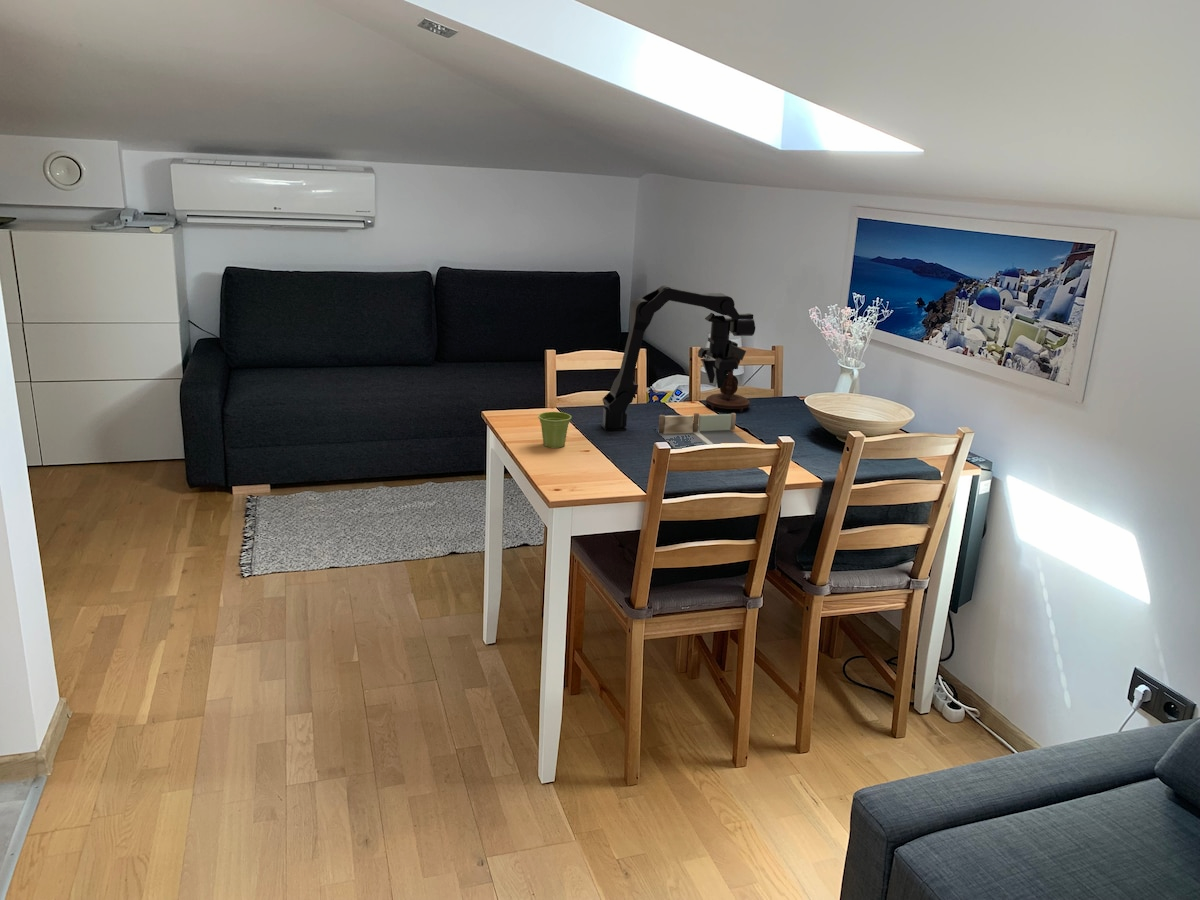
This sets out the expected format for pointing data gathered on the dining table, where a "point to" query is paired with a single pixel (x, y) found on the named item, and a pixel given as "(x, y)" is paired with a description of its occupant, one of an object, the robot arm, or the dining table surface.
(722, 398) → the brown round-based upright piece
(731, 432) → the card
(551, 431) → the plant pot
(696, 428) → the fence fixed section
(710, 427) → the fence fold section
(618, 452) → the dining table surface
